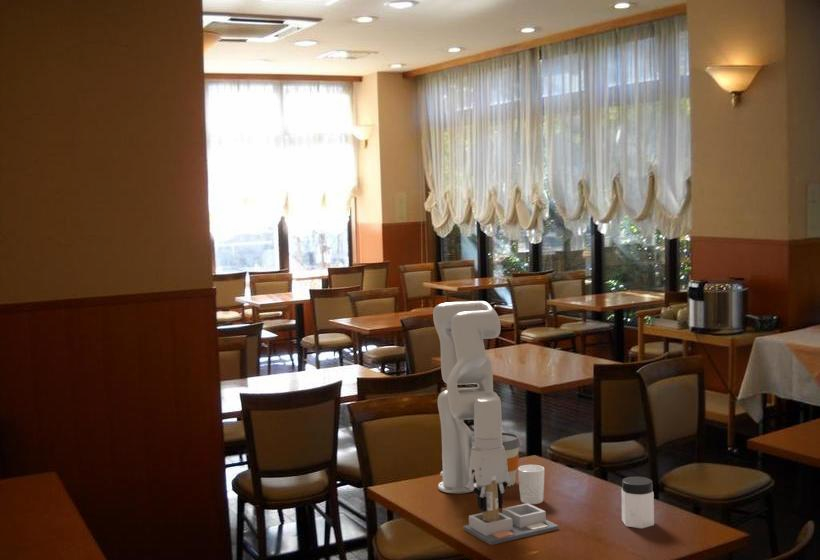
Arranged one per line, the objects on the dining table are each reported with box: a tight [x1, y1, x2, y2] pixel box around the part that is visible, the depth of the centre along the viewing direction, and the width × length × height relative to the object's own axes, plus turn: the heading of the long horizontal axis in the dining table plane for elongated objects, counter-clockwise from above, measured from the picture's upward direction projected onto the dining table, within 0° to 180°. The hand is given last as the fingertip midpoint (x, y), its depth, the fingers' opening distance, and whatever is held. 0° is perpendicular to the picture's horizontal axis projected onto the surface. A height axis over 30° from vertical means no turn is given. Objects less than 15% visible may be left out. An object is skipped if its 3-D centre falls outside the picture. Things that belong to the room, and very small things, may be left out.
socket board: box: [462, 503, 559, 546], centre depth 257 cm, size 14×22×4 cm, turn 118°
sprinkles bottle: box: [482, 476, 499, 522], centre depth 255 cm, size 5×5×13 cm
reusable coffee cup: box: [502, 431, 521, 487], centre depth 299 cm, size 13×13×15 cm
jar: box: [620, 476, 655, 529], centre depth 258 cm, size 9×8×12 cm
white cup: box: [517, 464, 545, 505], centre depth 281 cm, size 8×8×10 cm
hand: (490, 507), depth 255 cm, fingers closed on sprinkles bottle, 4 cm apart
